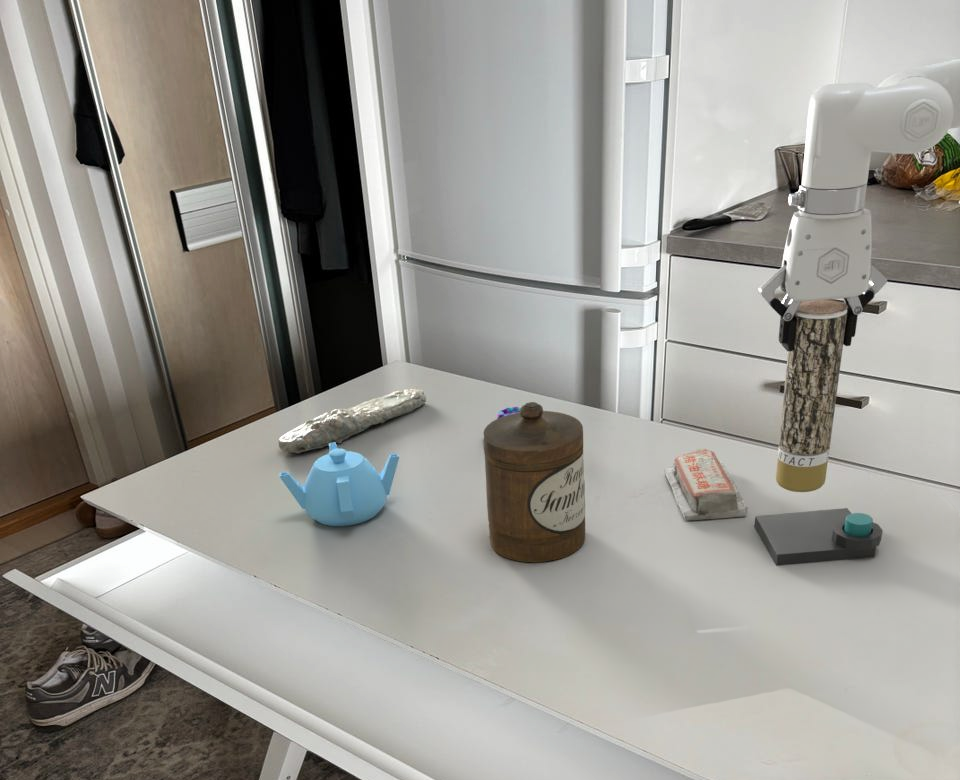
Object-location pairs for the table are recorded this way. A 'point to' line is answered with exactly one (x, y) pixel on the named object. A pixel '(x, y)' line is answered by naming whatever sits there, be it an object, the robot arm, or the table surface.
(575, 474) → the wooden container
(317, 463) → the teapot
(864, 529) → the tare button
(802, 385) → the paper tube
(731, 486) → the packaged product
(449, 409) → the table surface
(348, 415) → the foil wrapped baguette
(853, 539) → the push button base
